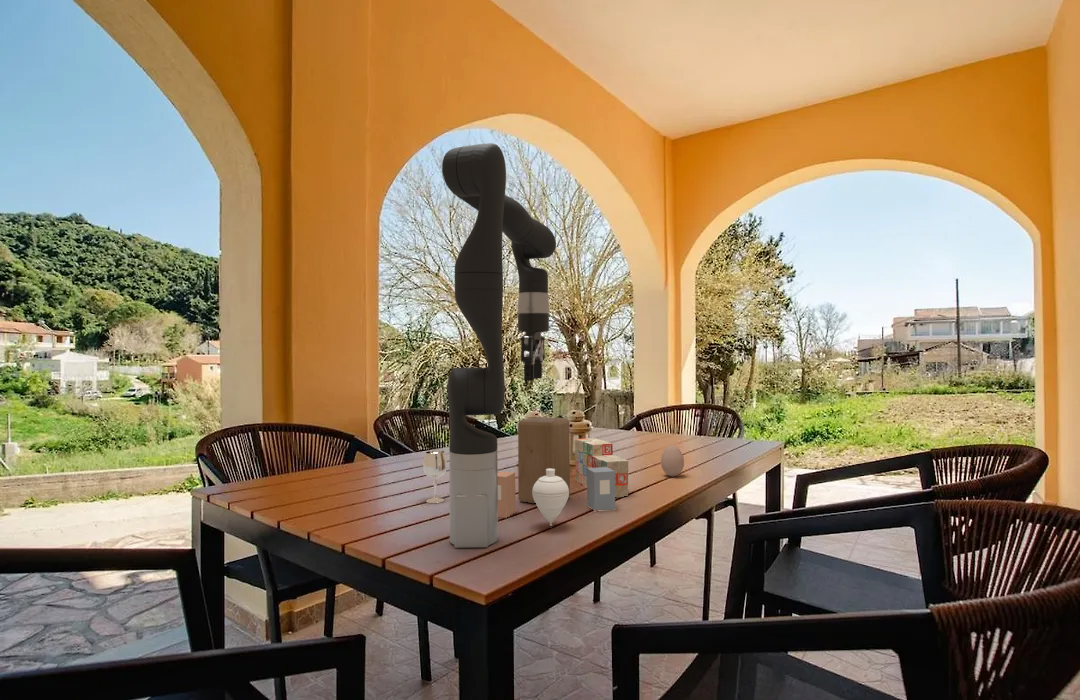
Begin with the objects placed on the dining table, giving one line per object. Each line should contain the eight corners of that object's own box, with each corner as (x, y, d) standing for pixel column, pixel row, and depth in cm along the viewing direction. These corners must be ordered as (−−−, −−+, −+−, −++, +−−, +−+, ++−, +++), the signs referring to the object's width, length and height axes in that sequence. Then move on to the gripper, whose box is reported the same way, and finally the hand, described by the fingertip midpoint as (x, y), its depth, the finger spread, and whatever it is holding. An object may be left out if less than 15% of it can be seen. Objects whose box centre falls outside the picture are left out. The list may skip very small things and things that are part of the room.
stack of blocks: (629, 497, 139) (628, 448, 140) (606, 499, 137) (605, 449, 138) (595, 479, 160) (594, 437, 160) (574, 481, 158) (574, 438, 158)
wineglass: (419, 503, 134) (419, 453, 135) (429, 497, 140) (429, 449, 140) (441, 504, 133) (441, 454, 133) (450, 498, 139) (450, 450, 139)
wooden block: (516, 502, 135) (516, 420, 135) (536, 493, 143) (535, 416, 144) (553, 507, 130) (553, 422, 130) (571, 497, 139) (570, 417, 139)
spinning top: (544, 519, 120) (543, 464, 120) (575, 524, 116) (575, 467, 116) (525, 529, 113) (524, 470, 114) (558, 535, 109) (557, 474, 110)
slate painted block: (615, 510, 127) (614, 471, 127) (594, 512, 126) (594, 472, 126) (606, 504, 132) (606, 467, 132) (587, 506, 131) (586, 468, 131)
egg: (680, 473, 166) (680, 443, 166) (686, 478, 160) (686, 447, 160) (658, 474, 166) (658, 443, 166) (664, 478, 159) (663, 447, 160)
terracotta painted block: (506, 518, 121) (506, 477, 122) (486, 516, 123) (485, 475, 123) (515, 512, 126) (515, 472, 126) (495, 510, 128) (495, 471, 128)
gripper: (542, 310, 126) (541, 381, 126) (554, 313, 140) (554, 377, 140) (510, 310, 128) (510, 381, 128) (525, 313, 142) (525, 377, 142)
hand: (533, 379), depth 134 cm, fingers open, 8 cm apart
